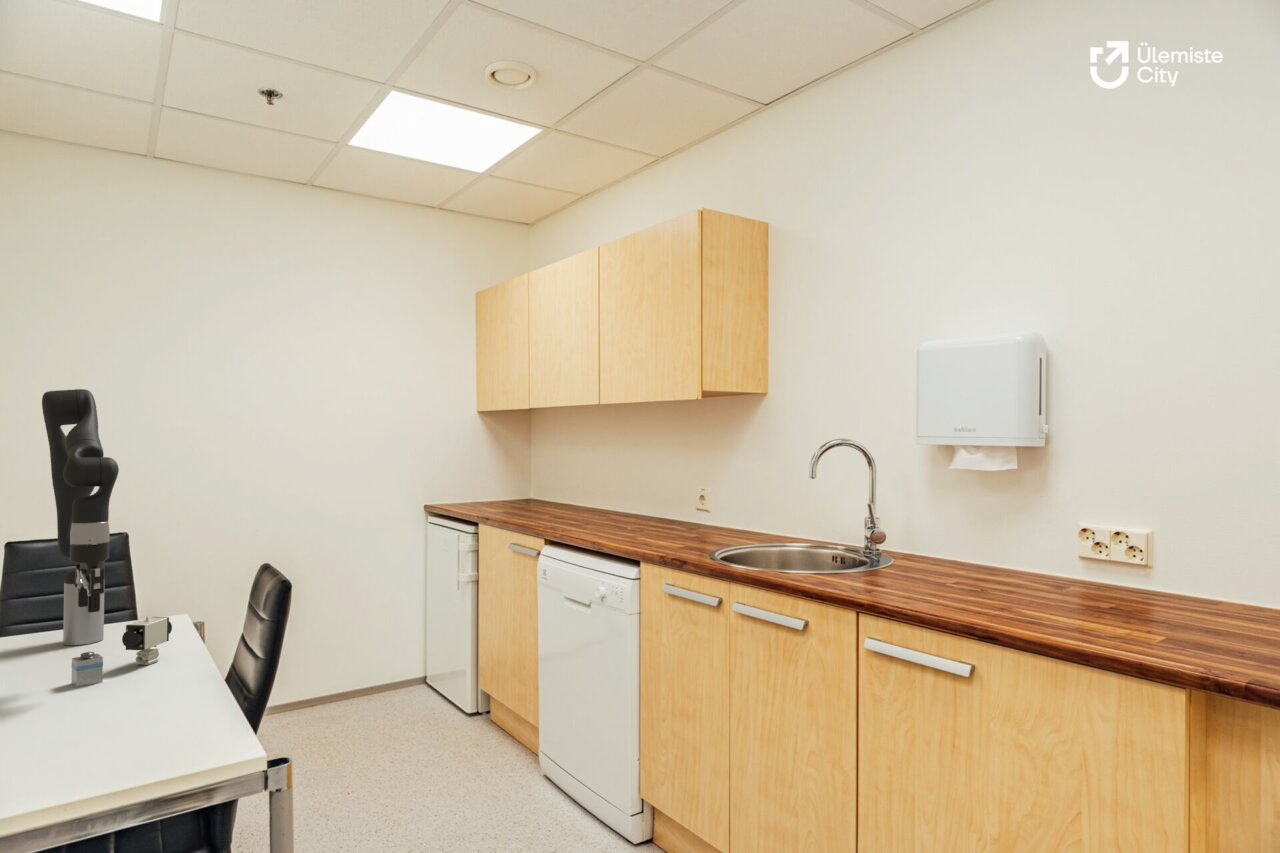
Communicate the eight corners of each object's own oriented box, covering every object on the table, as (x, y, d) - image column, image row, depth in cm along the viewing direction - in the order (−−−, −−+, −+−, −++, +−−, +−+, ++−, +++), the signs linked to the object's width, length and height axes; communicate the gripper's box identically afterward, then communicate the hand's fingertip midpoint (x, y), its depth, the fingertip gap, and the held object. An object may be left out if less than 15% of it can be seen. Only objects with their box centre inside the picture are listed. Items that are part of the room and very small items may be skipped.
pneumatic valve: (172, 657, 195) (173, 611, 195) (138, 670, 183) (138, 622, 184) (153, 656, 196) (153, 611, 196) (117, 670, 184) (118, 622, 184)
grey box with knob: (71, 683, 174) (71, 653, 174) (97, 678, 178) (97, 649, 178) (76, 687, 171) (76, 657, 171) (102, 682, 175) (103, 652, 175)
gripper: (62, 539, 177) (61, 607, 176) (78, 545, 168) (77, 616, 167) (100, 536, 182) (99, 602, 182) (117, 542, 173) (116, 610, 173)
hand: (88, 609), depth 175 cm, fingers open, 8 cm apart
